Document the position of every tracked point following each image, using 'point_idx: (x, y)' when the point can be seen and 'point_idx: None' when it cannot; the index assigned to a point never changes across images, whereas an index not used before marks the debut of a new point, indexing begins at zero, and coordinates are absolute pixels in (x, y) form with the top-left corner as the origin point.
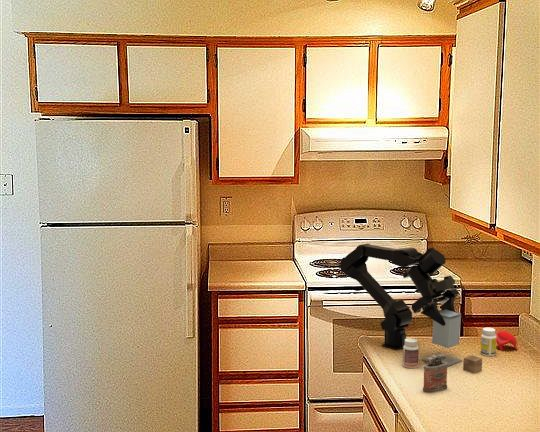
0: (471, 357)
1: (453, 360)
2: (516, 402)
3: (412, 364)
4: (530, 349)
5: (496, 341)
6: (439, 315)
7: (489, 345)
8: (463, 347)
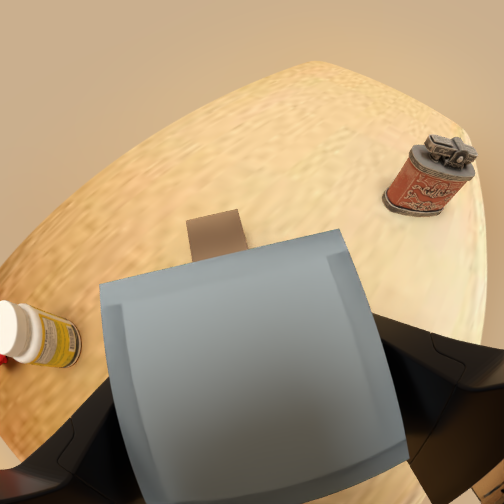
0: (215, 245)
1: None
2: (279, 94)
3: None
4: None
5: None
6: (420, 332)
7: (52, 318)
8: None
